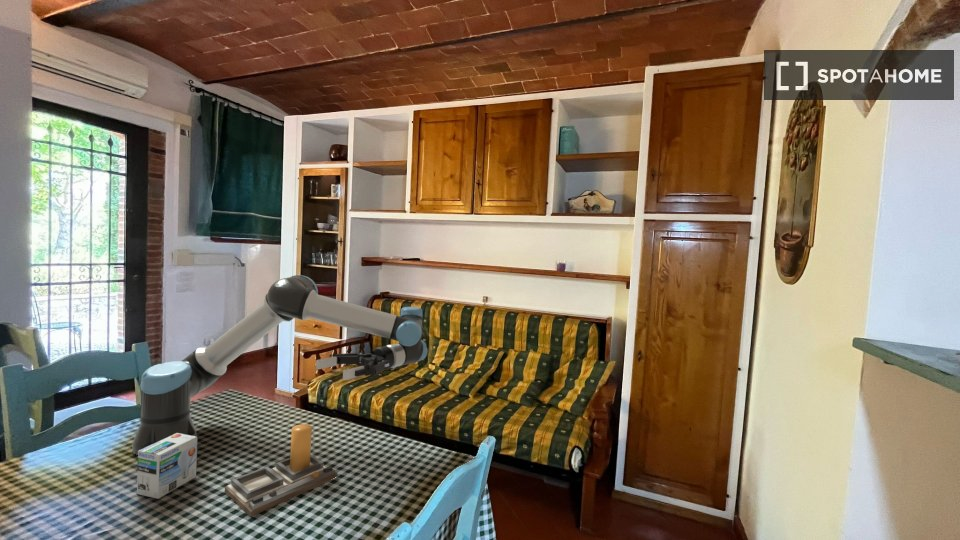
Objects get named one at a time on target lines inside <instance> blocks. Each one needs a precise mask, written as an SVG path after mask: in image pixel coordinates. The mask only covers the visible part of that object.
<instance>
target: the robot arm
mask: <svg viewBox="0 0 960 540" xmlns="http://www.w3.org/2000/svg"><path fill="white" fill-rule="evenodd" d="M423 317H424V315H423V309H422V308H421V307H418V306H417V307H416V306H404V307H402V308H401V309H400V315H396V314H392V313H389V312H385V311H380V310H377V309H374V308H369V307H367V306H363V305H359V304H355V303H352V302H347V301H344V300H340V299H337V298H332V297H329V296H326V295H322V294H319V290H318V286H317V285H316V283H315V281H314V280H313V279H311V278H310V277H309V276H305V275H302V274H295V275H292V276H289V277H284V278H280V279H278V280H276V281H275V282H274V283H273V284H271V286H270V287H269V289H268V292H267V293H266V294H265V295H264V301H263V302H262V303H261V304H260V305H259V306H258V307H256V308H255V309H254V310H252V311H251V312H250V313H248V314H247V315H246V316H245V317H243V318H242V319H241V320H239V321H238V322H237V323H236V324H235V325H233V326H232V327H231V328H229V330H227V331H226V332H224V333H223V334H222V335H221V336H220V337H217V339H215V341H213V342H211V343H210V344H209V345H208V346H200V347H198V348H196V349H195V350H193V351H192V352H191V353H190V354H189V355H187V356H186V357H185V358H184V359H182V360H181V361H180V360H179V361H178V360H175V361H174V360H173V361H172V360H171V361H166V362H162V363H157V364H155V365H152V366H150V367H148V368H147V369H145V371H144V372H143V373H142V375H141V382H140V385H139V386H140V424H139V425H138V428H137V431H136V434H135V435H134V438H133V441H132V445H131V447H132V448H131V450H132V451H133V452H132V451H131V452H132V454H134V455H135V454H136V455H135V456H137V455H138V451H139V450H141V449H143V448H146V447H148V446H150V445H152V444H154V443H156V442H159V441H161V440H163V439H165V438H167V437H169V436H171V435H174V434H176V433H180V434H185V435H190V436H196V437H197V430H196V427H195V424H194V422H193V419H192V417H191V399H192V398H193V397H195V396H196V395H198V394H199V393H201V392H202V391H204V390H206V389H208V388H210V387H211V386H213V385H214V384H215V383H216V382H217V381H218V379H219V378H221V377H222V376H224V374H226V372H227V369H228V368H227V367H228V365H229V364H231V363H232V362H234V360H236V359H237V358H238V357H239V356H241V355H242V354H244V353H245V352H246V351H247V350H249V348H251V347H252V346H253V345H255V344H256V343H257V342H258V341H260V340H261V339H262V338H263V337H265V336H267V334H269V333H270V332H271V331H272V330H273V329H275V328H276V327H278V326H279V325H280V324H281V323H282V322H291V321H292V320H294V319H298V320H302V321H307V320H308V319H310V320H315V321H319V322H323V323H327V324H331V325H335V326H339V327H342V328H347V329H351V330H355V331H358V332H363V333H367V334H370V335H373V336H374V335H375V336H377V337H381V338H386V339H390V340H393V341H397V342H398V343H393V344H387V345H383V346H377V347H376V348H374V349H373V351H372V353H365V352H364V351H360V352H352V353H351V352H350V353H348V352H347V353H334V354H332V356H331V357H325V358H321V359H316V360H315V370H322V369H326V368H331V367H336V366H337V365H356V367H351V368H348V369H343V371H342V381H348V380H353V379H356V378H360V377H364V376H365V377H368V376H370V377H371V378H375V377H376V376H377V375H379V374H381V373H382V372H383V371H385V370H389V369H393V370H394V369H396V368H399V367H401V366H406V365H409V364H416V363H417V362H420V361H423V360H424V359H426V357H427V356H428V348H427V343H426V341H424V340H422V335H423V332H422V331H423Z"/></svg>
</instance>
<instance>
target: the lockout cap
mask: <svg viewBox="0 0 960 540" xmlns="http://www.w3.org/2000/svg"><path fill="white" fill-rule="evenodd" d="M312 431H313V427H312V425H311V424H308V423H301V424H297V425H295V426H292V427H291V435H290V436H291V438H290V439H291V440H290V453H289V454H290V455H289V458H290V470H291V471H293V472H297V471H299V470H302V469H304V468H307V467H309V466H310V455H312V454H311V453H312V434H313V433H312Z"/></svg>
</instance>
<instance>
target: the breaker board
mask: <svg viewBox="0 0 960 540" xmlns="http://www.w3.org/2000/svg"><path fill="white" fill-rule="evenodd" d="M335 477H337V478H338V473H337V472H336V469H334V468H333V466H331V465H329V466H327V465H325V464H324V461H322V460H320V459H319V458H317V457H315V456H314V455H313V454H311V455H310V466H309V467H307V468H304V469H302V470H299V471H297V472H293V471H291V470H290V457H288V458H285V459H283V460H280V461H278V462H276V463H275V467H273V468H270V467H269V466H264V467H262V468H259V469H256V470H254V471H251V472H248V473H245V474H242V475H239V476H238V477H235V478H232V479H231V483H230V484H228V485H226V486H224V493H225V494H226V495H227V496H228V497H230V499H231V500H232V501H234V502H235V504H236V505H238V506H239V507H240V508H241V510H243V511H244V512H245V513H246V514H247V515H248V516H249V517H253V516H256V515H258V514H260V513H263V512H265V511H266V510H269V509H271V508H273V507H276V506H277V505H280V504H282V503H285V502H287V501H289V500H291V499H294V498H296V497H297V496H298V497H299V495H302V494H304V493H306V492H309V491H310V490H312V489H315V488H317V487H319V486H321V484H322V485H323V483H324V484H326V483H328V482H330V481H332V480H331V479H333V478H335ZM335 479H336V478H335ZM329 480H330V481H329ZM333 480H334V479H333ZM327 481H328V482H327ZM325 482H326V483H325Z"/></svg>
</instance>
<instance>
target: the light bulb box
mask: <svg viewBox="0 0 960 540" xmlns="http://www.w3.org/2000/svg"><path fill="white" fill-rule="evenodd" d="M197 454H198V436H197V435H196V436H190V435H185V434H180V433H176V434H174V435H171V436H169V437H167V438H165V439H163V440H161V441H159V442H156V443H154V444H152V445H150V446H148V447H146V448H143V449H141V450H139V451H138V456H137V474H136V476H137V477H136V479H137V480H136V494H137V495H141V496H145V497H149V498H153V499H157V500H159V499H161V498H162V497H164V496H165V495H167V494H169V493H171V492H173V491H174V490H176V489H177V488H179V487H181V486H183V485H184V484H186V483H188V482H189V481H191V480H193V479H194V478H196V477H197V457H198V455H197Z"/></svg>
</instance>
